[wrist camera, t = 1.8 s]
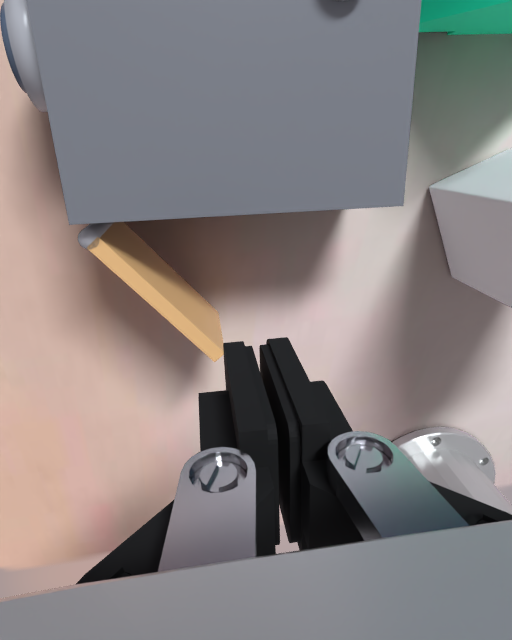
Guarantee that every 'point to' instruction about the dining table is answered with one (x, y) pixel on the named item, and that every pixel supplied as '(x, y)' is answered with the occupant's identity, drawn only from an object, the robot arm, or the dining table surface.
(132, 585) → the robot arm
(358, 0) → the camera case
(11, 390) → the dining table surface
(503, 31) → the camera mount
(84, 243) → the tan cabinet door
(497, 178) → the milk carton
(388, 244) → the dining table surface
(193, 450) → the dining table surface
